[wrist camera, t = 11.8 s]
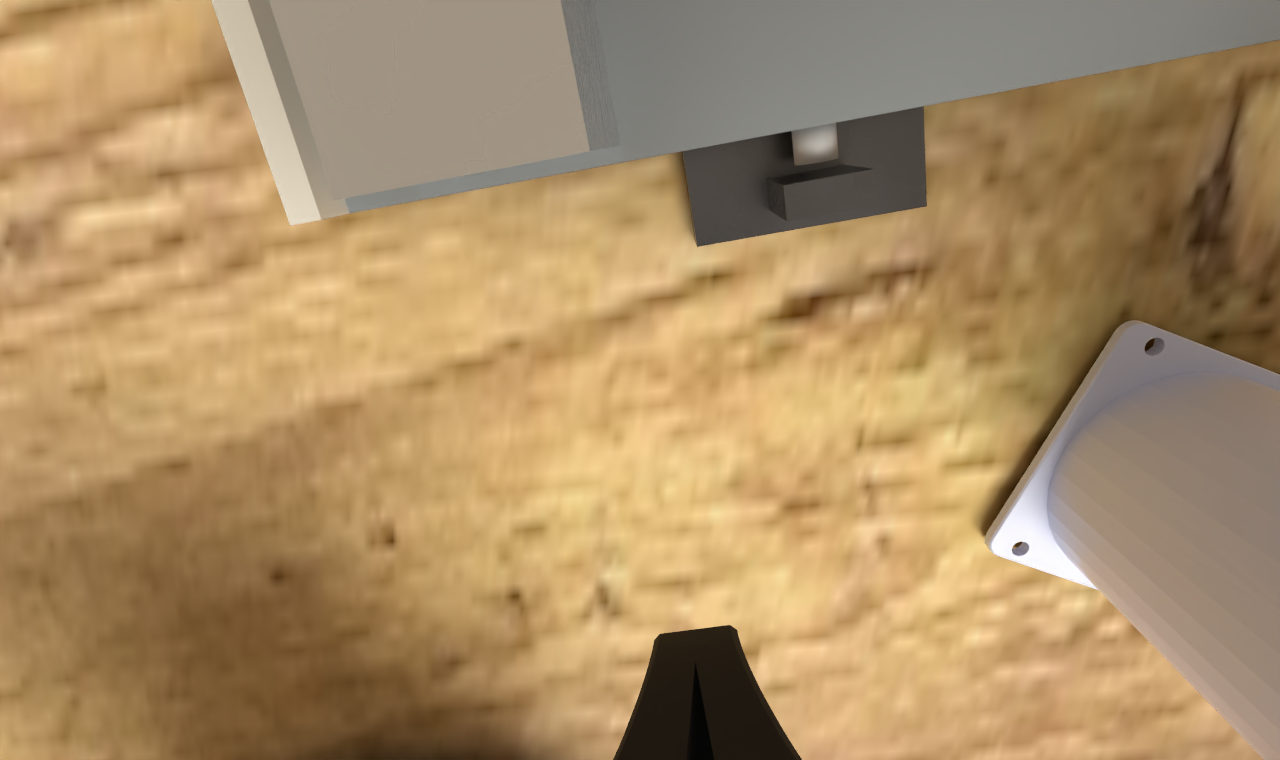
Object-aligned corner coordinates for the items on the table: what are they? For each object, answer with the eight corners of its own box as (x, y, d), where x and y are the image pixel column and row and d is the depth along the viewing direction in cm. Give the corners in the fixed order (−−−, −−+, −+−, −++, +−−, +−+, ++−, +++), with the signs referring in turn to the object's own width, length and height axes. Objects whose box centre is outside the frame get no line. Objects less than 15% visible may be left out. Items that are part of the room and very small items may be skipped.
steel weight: (573, -118, 13) (522, -197, 10) (620, 145, 15) (590, 150, 12) (347, -57, 14) (233, -111, 11) (415, 184, 16) (333, 200, 12)
